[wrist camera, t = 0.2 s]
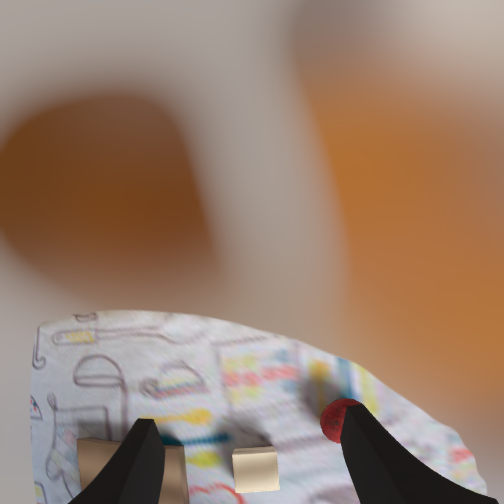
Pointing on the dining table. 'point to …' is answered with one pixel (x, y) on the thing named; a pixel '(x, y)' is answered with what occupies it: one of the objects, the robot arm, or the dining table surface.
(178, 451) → the walnut block
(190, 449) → the dining table surface
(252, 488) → the beech cube
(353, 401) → the pomegranate
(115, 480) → the robot arm
